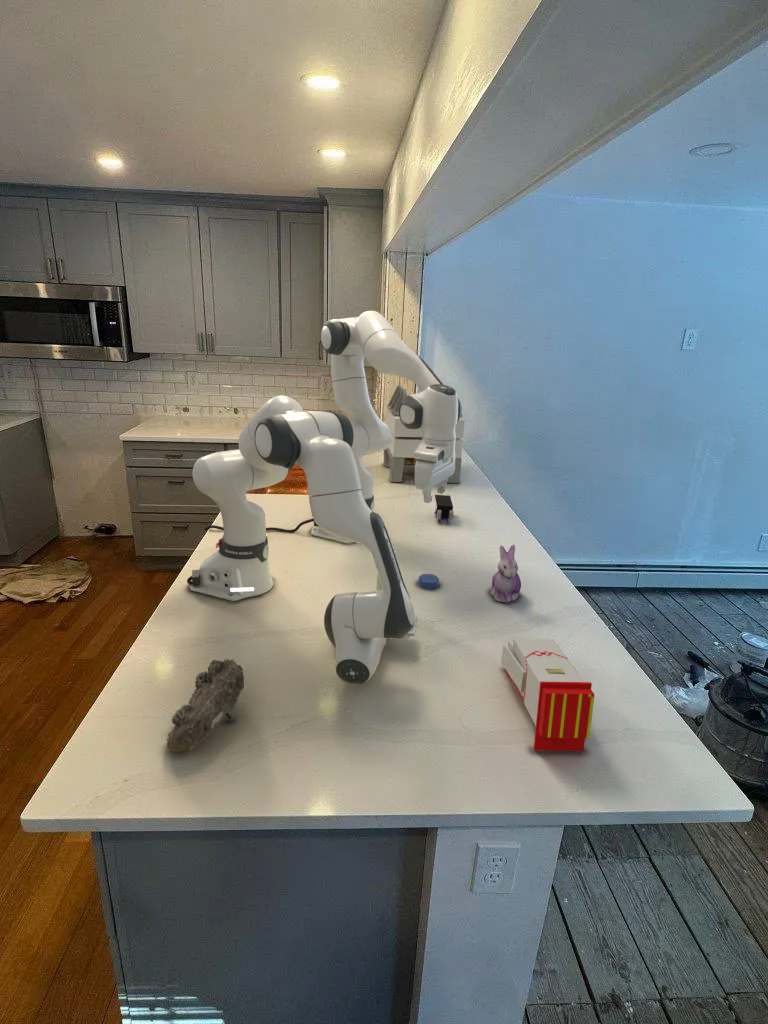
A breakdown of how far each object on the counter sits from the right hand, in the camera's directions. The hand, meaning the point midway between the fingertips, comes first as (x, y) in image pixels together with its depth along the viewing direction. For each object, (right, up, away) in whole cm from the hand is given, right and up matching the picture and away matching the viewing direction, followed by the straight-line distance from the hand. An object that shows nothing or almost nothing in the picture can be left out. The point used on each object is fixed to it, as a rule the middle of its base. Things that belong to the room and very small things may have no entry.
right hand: (434, 497), depth 155 cm
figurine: (+20, -28, +5) cm, 35 cm away
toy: (+18, -43, -39) cm, 60 cm away
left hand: (-15, -27, -13) cm, 33 cm away
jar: (-13, -29, -2) cm, 32 cm away
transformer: (+3, +15, +120) cm, 121 cm away
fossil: (-47, -43, -47) cm, 79 cm away
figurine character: (+9, -7, +62) cm, 63 cm away
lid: (-1, -23, +9) cm, 25 cm away
